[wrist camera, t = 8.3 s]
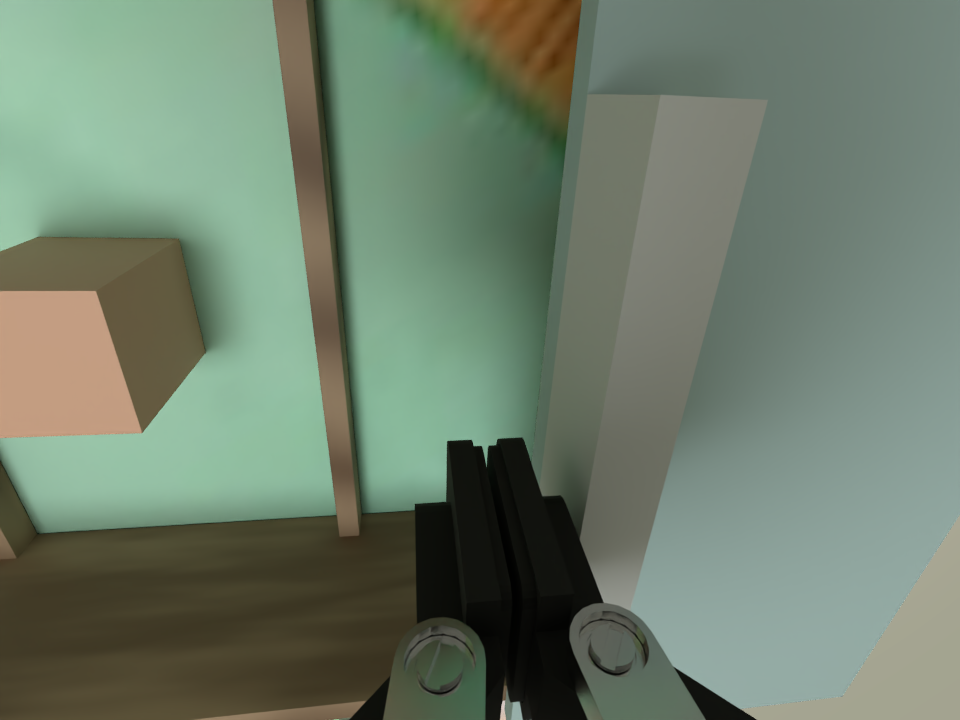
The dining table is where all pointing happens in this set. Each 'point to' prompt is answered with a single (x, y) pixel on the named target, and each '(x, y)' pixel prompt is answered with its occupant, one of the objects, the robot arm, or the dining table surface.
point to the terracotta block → (93, 334)
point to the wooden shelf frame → (222, 550)
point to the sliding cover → (758, 327)
